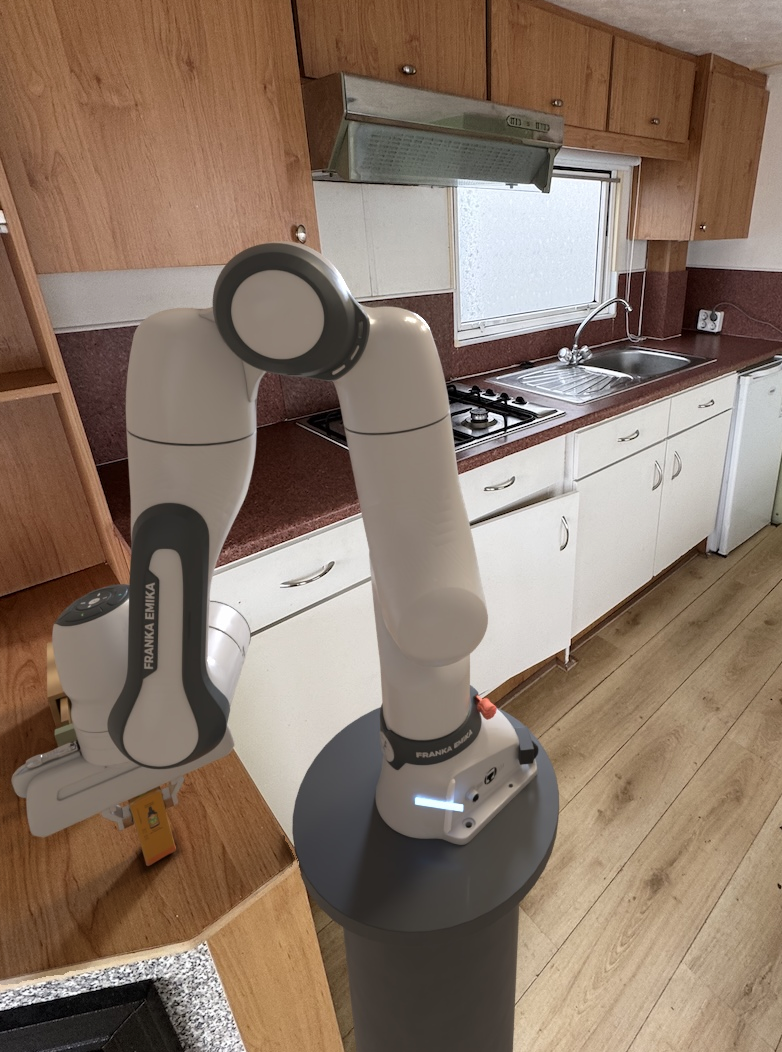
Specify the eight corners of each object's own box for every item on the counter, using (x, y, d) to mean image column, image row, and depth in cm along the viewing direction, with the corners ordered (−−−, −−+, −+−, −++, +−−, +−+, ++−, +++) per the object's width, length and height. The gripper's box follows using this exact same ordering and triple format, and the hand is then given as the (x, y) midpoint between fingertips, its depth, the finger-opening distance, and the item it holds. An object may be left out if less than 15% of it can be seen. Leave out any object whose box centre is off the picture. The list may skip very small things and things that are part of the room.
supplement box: (170, 831, 73) (156, 771, 70) (177, 851, 71) (162, 790, 68) (140, 847, 71) (124, 786, 68) (146, 868, 69) (129, 806, 66)
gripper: (4, 790, 56) (40, 888, 61) (228, 700, 68) (244, 788, 72) (7, 747, 61) (41, 841, 66) (216, 670, 73) (232, 755, 77)
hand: (149, 813), depth 69 cm, fingers closed on supplement box, 3 cm apart
